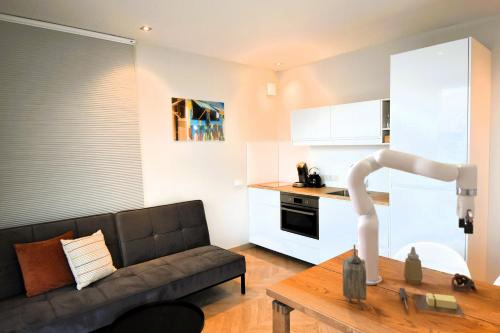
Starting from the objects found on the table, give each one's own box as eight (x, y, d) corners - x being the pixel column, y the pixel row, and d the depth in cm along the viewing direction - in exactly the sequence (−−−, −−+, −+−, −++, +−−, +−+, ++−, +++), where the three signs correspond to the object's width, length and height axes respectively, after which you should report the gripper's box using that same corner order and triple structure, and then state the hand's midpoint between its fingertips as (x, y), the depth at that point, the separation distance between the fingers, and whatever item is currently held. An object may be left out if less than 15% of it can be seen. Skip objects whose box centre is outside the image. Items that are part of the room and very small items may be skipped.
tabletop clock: (366, 312, 124) (366, 251, 122) (343, 309, 126) (342, 250, 125) (364, 295, 138) (363, 240, 136) (343, 293, 140) (342, 239, 139)
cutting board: (417, 312, 123) (417, 309, 123) (412, 295, 136) (412, 293, 136) (464, 318, 117) (464, 315, 117) (454, 301, 130) (454, 298, 130)
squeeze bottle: (421, 281, 149) (422, 245, 148) (423, 288, 142) (423, 250, 141) (403, 279, 153) (403, 243, 151) (403, 286, 145) (403, 248, 144)
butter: (436, 306, 124) (436, 299, 124) (433, 300, 129) (433, 293, 129) (456, 309, 122) (456, 302, 121) (453, 303, 126) (453, 296, 126)
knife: (404, 314, 122) (404, 307, 121) (399, 293, 138) (399, 287, 138) (410, 314, 121) (410, 308, 121) (404, 293, 138) (404, 288, 138)
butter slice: (428, 305, 125) (428, 298, 125) (426, 299, 130) (426, 292, 130) (434, 306, 124) (434, 299, 124) (431, 300, 129) (431, 293, 129)
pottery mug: (483, 297, 134) (477, 283, 132) (461, 304, 136) (455, 291, 134) (466, 278, 145) (461, 265, 143) (447, 286, 147) (441, 273, 145)
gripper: (451, 189, 143) (451, 225, 144) (460, 195, 127) (460, 235, 129) (471, 189, 140) (470, 226, 141) (482, 195, 124) (481, 237, 126)
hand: (465, 230), depth 135 cm, fingers open, 9 cm apart
